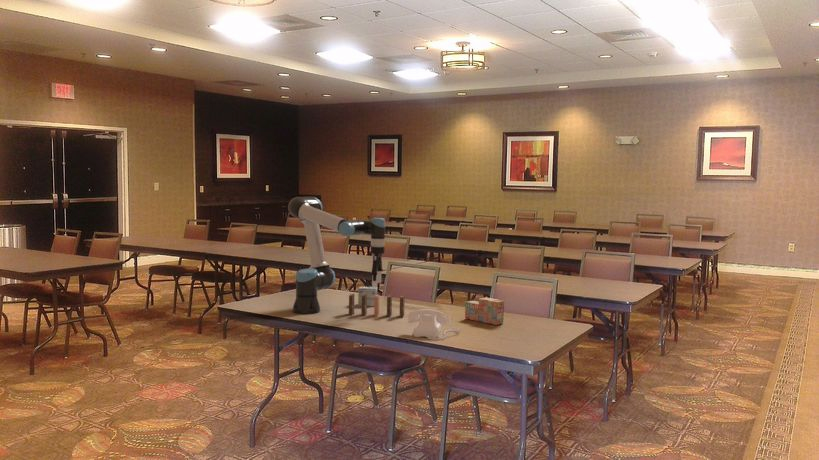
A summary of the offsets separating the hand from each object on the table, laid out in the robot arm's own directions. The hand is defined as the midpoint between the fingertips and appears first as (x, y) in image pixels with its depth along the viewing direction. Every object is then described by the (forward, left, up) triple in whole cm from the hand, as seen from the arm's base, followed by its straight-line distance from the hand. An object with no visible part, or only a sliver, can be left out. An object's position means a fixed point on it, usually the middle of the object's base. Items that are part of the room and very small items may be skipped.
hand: (376, 284), depth 350 cm
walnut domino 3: (+7, 0, -17) cm, 18 cm away
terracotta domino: (0, 0, -17) cm, 17 cm away
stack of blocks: (+59, -2, -17) cm, 61 cm away
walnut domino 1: (-14, 0, -17) cm, 22 cm away
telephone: (+34, -39, -17) cm, 55 cm away
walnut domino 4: (+14, 0, -17) cm, 22 cm away
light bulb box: (-10, +28, -17) cm, 34 cm away
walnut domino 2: (-7, 0, -17) cm, 18 cm away
